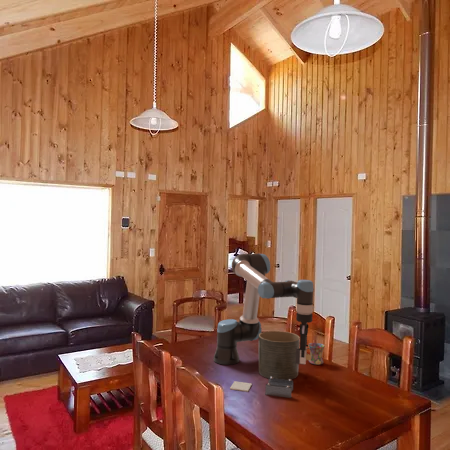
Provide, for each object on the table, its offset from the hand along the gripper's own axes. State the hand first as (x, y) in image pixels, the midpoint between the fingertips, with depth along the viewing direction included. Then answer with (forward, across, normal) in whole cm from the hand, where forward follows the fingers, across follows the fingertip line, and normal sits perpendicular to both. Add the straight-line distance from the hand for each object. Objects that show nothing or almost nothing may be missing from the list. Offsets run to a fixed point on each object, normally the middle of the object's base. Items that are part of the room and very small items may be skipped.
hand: (303, 361), depth 187 cm
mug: (+16, +48, -3) cm, 50 cm away
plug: (0, 0, 0) cm, 0 cm away
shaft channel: (+16, 0, +11) cm, 19 cm away
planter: (+16, +25, +15) cm, 33 cm away
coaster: (+16, 0, +30) cm, 34 cm away
